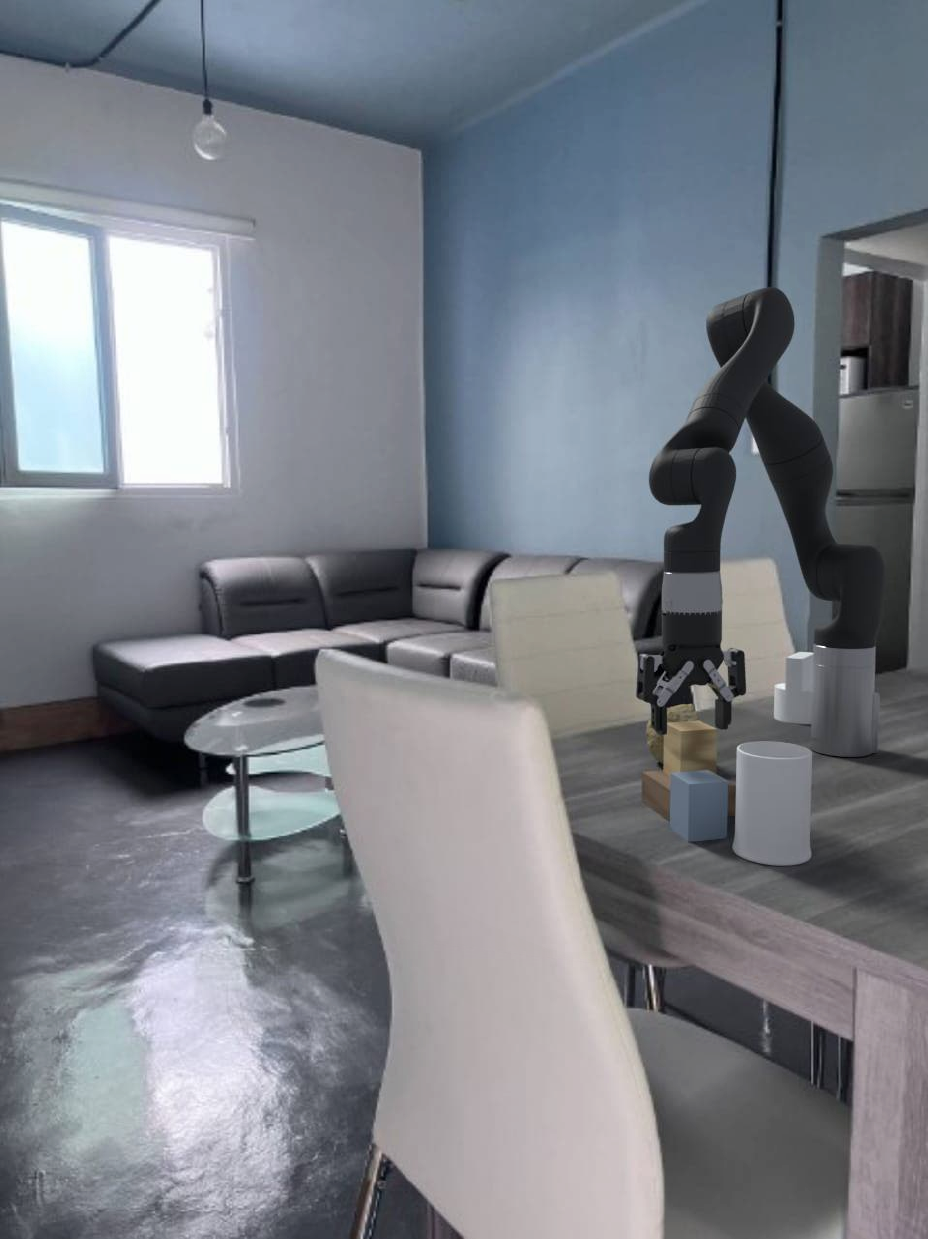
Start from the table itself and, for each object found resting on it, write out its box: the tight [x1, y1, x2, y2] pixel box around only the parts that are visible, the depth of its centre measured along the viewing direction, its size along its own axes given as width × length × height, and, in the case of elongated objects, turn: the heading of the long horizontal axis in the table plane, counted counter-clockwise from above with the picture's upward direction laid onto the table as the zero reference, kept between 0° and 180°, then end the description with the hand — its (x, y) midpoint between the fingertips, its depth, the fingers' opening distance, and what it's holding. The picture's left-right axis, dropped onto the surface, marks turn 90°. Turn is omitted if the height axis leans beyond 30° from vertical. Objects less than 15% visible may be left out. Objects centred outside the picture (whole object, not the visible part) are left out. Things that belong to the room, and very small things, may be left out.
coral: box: [645, 703, 703, 765], centre depth 143 cm, size 10×10×10 cm
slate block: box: [669, 770, 729, 843], centre depth 112 cm, size 5×5×7 cm
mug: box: [731, 740, 813, 867], centre depth 106 cm, size 12×8×12 cm
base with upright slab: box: [773, 651, 813, 725], centre depth 173 cm, size 9×9×12 cm
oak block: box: [662, 720, 718, 778], centre depth 121 cm, size 5×5×7 cm
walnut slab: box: [641, 769, 736, 822], centre depth 121 cm, size 9×9×4 cm
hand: (691, 731), depth 120 cm, fingers open, 8 cm apart
